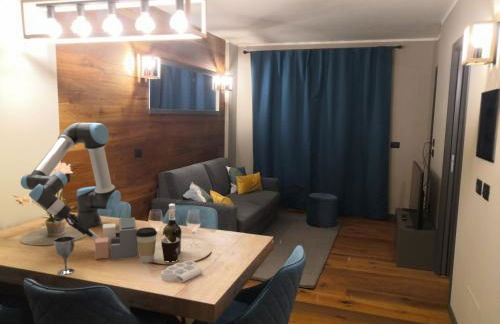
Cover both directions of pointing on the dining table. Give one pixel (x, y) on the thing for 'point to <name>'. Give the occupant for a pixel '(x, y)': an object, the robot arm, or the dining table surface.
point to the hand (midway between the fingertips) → (97, 239)
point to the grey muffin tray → (181, 271)
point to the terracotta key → (101, 248)
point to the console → (125, 240)
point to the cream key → (109, 232)
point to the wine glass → (64, 251)
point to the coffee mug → (170, 250)
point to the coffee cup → (146, 243)
